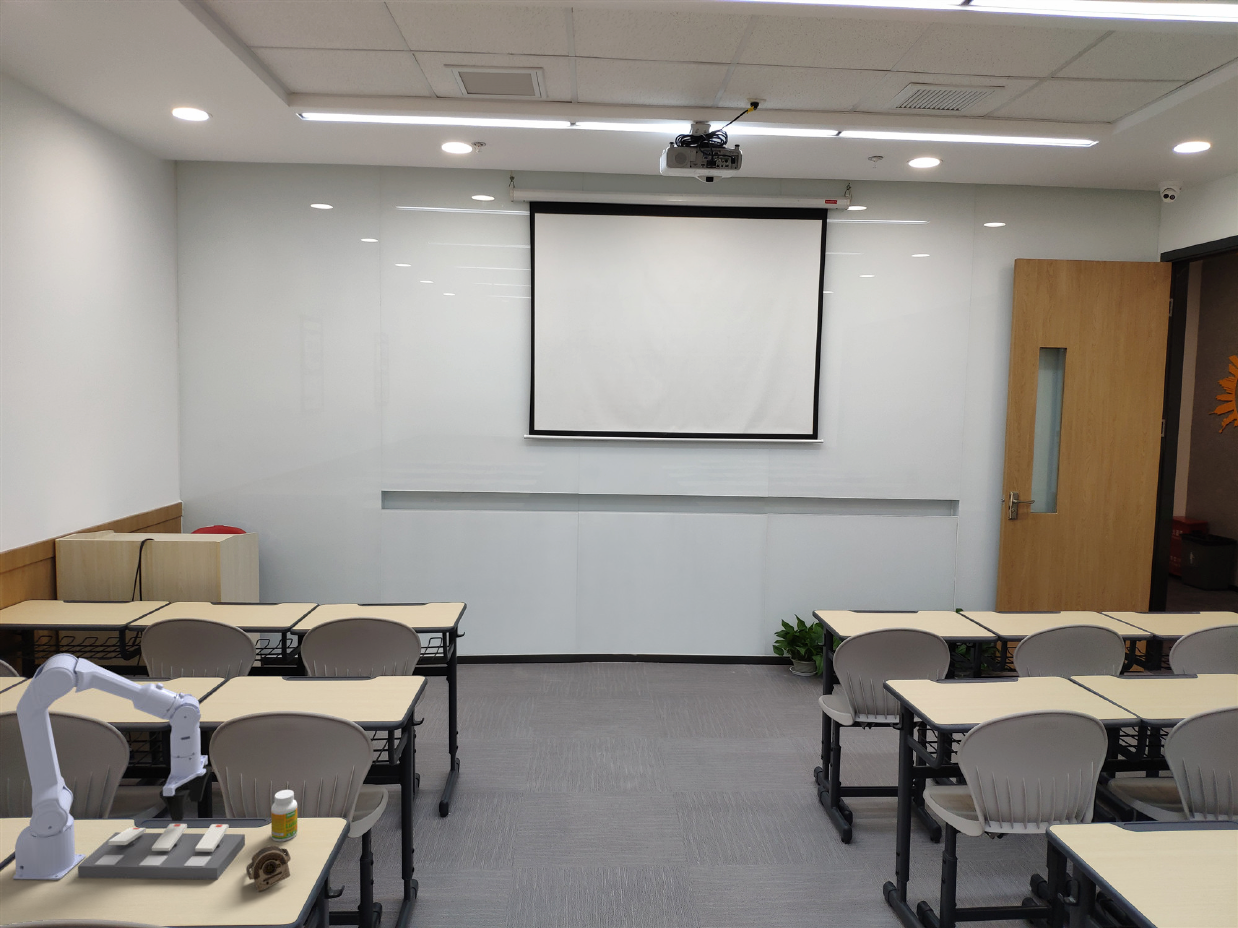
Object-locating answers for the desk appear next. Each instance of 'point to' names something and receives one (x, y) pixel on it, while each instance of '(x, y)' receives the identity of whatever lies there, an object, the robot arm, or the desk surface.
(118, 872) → the rocker switch panel
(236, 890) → the desk surface
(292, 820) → the supplement bottle
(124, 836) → the rocker left
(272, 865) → the mechanical counter
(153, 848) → the rocker middle
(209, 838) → the rocker right
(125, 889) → the desk surface
